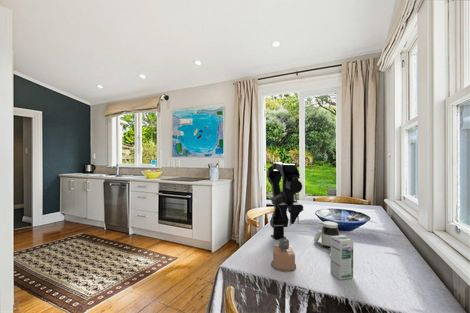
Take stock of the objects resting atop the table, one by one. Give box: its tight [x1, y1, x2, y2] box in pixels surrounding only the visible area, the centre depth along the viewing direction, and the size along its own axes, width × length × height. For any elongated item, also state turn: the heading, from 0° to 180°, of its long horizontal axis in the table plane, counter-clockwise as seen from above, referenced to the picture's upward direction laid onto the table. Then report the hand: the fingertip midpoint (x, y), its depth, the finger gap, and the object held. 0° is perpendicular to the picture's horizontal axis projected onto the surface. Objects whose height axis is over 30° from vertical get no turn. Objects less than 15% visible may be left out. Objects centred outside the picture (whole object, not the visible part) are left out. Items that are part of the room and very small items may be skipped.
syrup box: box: [329, 234, 354, 281], centre depth 87 cm, size 6×6×14 cm
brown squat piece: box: [270, 245, 297, 273], centre depth 94 cm, size 10×10×6 cm
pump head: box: [278, 238, 290, 251], centre depth 93 cm, size 6×4×8 cm, turn 173°
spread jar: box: [313, 220, 340, 250], centre depth 116 cm, size 12×11×12 cm
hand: (287, 221), depth 112 cm, fingers open, 9 cm apart
